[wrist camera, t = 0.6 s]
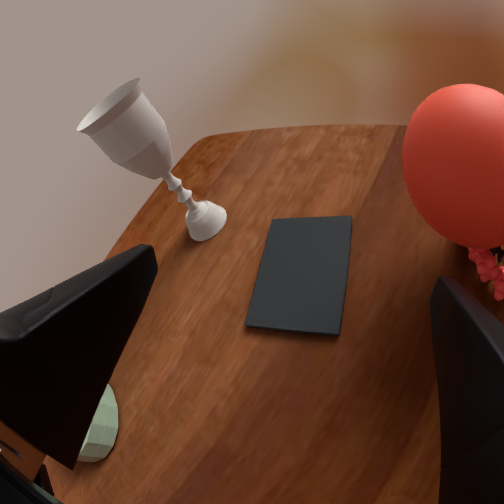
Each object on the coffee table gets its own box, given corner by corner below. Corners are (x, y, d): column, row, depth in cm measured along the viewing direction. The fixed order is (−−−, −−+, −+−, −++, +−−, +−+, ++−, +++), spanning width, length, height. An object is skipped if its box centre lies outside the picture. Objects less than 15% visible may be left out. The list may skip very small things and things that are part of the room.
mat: (339, 336, 22) (338, 333, 21) (247, 327, 25) (244, 324, 25) (352, 219, 27) (351, 215, 26) (273, 222, 30) (271, 218, 30)
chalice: (173, 246, 35) (65, 139, 21) (194, 201, 38) (106, 94, 24) (223, 248, 31) (107, 115, 18) (243, 198, 34) (154, 68, 21)
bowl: (109, 478, 21) (79, 477, 18) (60, 436, 27) (35, 430, 23) (131, 391, 26) (102, 382, 23) (79, 363, 32) (54, 353, 29)
